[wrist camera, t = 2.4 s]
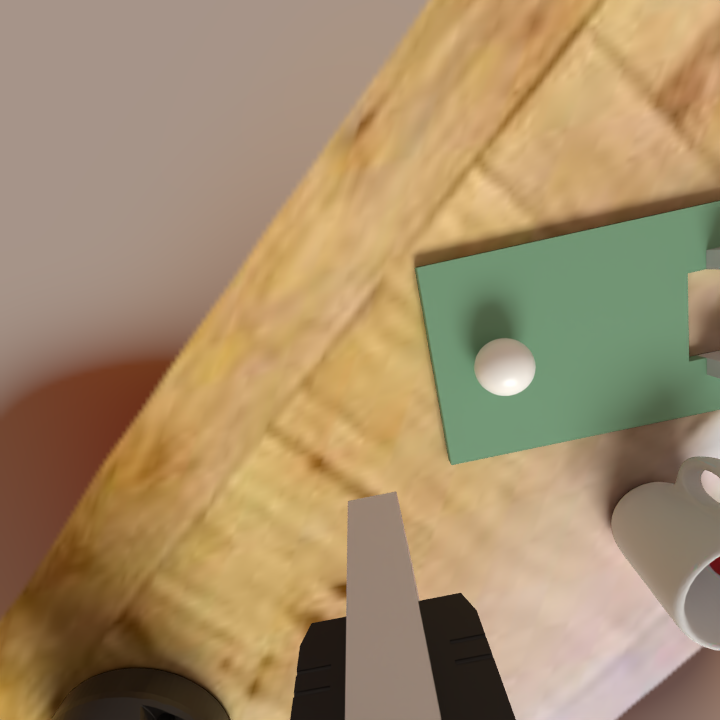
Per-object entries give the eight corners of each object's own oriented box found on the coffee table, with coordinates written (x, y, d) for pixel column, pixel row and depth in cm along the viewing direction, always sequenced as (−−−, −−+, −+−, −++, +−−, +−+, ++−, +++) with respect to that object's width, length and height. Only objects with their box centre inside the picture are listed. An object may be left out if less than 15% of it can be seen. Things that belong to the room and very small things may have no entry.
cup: (612, 430, 29) (708, 491, 21) (718, 433, 29) (851, 494, 22) (586, 557, 32) (663, 653, 24) (684, 558, 32) (792, 654, 24)
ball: (471, 390, 27) (489, 409, 24) (463, 339, 26) (480, 351, 23) (523, 379, 27) (549, 397, 24) (517, 328, 26) (543, 338, 23)
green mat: (448, 459, 29) (451, 465, 28) (414, 267, 26) (416, 268, 25) (792, 388, 29) (804, 391, 28) (802, 182, 25) (816, 179, 24)
